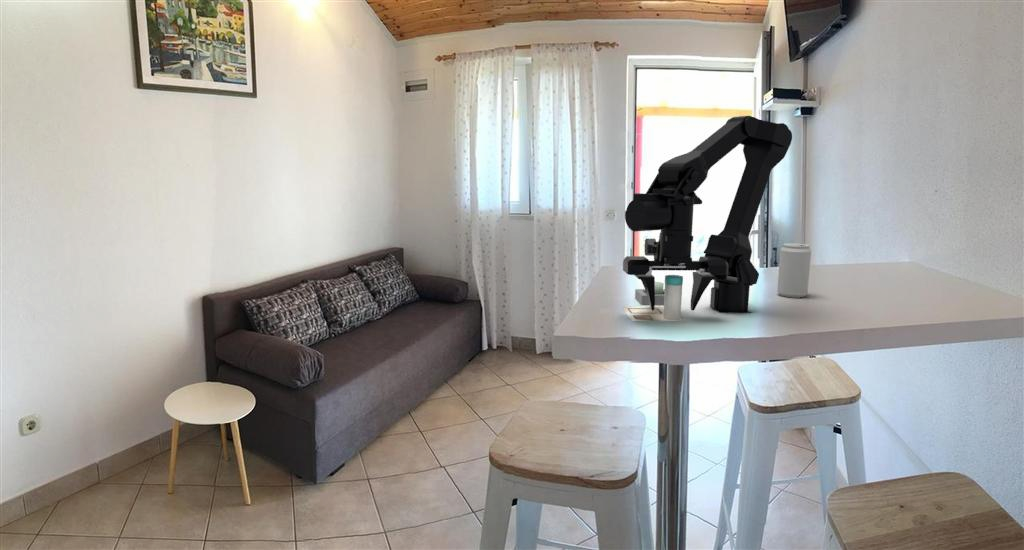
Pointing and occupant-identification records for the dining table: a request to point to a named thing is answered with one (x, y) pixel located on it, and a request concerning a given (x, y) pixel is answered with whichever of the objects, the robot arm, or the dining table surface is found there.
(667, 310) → the marker
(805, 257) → the beverage can
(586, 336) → the dining table surface
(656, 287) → the button
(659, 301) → the button housing
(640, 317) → the drawing board
